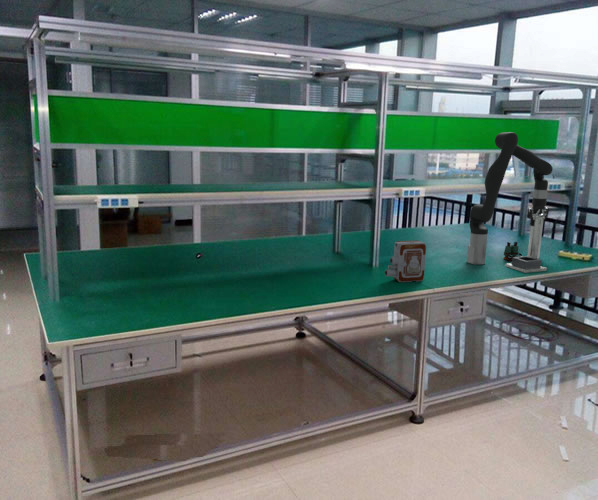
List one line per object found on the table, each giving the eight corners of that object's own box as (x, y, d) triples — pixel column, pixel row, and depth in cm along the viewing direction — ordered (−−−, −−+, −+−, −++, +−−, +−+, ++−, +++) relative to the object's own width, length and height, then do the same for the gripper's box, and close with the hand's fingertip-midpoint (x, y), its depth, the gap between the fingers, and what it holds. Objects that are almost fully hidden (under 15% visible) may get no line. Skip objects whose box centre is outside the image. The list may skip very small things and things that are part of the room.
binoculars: (513, 246, 316) (503, 241, 325) (510, 263, 319) (500, 258, 328) (527, 245, 317) (517, 240, 327) (524, 263, 321) (514, 257, 330)
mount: (524, 272, 295) (525, 262, 294) (505, 266, 309) (506, 256, 308) (546, 270, 301) (547, 260, 300) (526, 264, 314) (527, 254, 313)
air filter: (526, 258, 329) (531, 216, 324) (527, 256, 335) (532, 215, 329) (538, 259, 326) (543, 217, 321) (539, 257, 332) (544, 216, 326)
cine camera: (381, 279, 279) (383, 240, 275) (417, 277, 283) (419, 238, 279) (388, 283, 270) (390, 243, 266) (425, 282, 274) (428, 242, 270)
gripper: (534, 198, 317) (531, 227, 320) (554, 197, 322) (551, 226, 325) (525, 196, 323) (522, 225, 327) (544, 196, 328) (541, 224, 332)
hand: (536, 225), depth 326 cm, fingers closed on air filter, 6 cm apart
